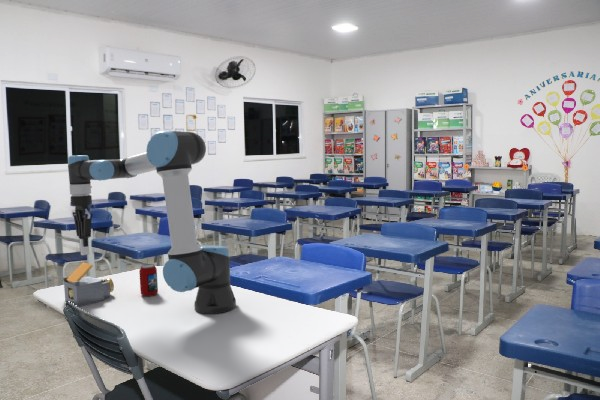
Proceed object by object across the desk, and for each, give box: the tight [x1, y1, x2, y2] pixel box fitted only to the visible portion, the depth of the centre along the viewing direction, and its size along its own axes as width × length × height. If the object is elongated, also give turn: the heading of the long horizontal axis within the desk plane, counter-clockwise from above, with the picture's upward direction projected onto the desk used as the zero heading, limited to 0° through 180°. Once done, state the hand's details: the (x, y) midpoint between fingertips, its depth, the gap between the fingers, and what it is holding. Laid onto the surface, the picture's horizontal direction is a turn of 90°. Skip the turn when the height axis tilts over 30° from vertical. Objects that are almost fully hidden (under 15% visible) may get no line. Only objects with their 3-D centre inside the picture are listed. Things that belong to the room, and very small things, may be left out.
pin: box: [69, 277, 115, 298], centre depth 194 cm, size 16×6×6 cm, turn 137°
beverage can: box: [138, 263, 159, 297], centre depth 198 cm, size 7×7×12 cm
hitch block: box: [62, 275, 111, 307], centre depth 193 cm, size 12×14×10 cm
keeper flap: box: [66, 261, 94, 283], centre depth 190 cm, size 8×9×1 cm
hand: (85, 254), depth 192 cm, fingers closed
